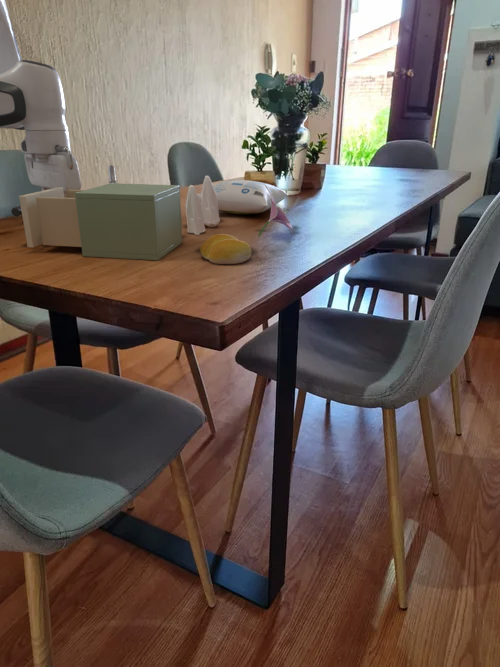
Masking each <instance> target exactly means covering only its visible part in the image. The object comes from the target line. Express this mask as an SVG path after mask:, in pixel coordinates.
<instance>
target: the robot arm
mask: <svg viewBox="0 0 500 667" xmlns="http://www.w3.org/2000/svg"><path fill="white" fill-rule="evenodd" d="M8 10H9V9H8V5H7V2H6V0H0V129H6V130H7V129H12V130H18V131H24V133H25V136H24V138H23V140H22V141H20V143H19V144H20V150H21V152H22V153H24V163H25V167H26V168H25V169H26V173H27V176H28V180H29V182H30V184H31V185H32V186H36V187H40V189H41V190H40V191H43V190H48V189H52V188H57V187H63V191H64V198H67V194H66V190H82V180H81V175H80V169H79V165H78V161H77V159H76V156H75V155H73V152H72V148H71V141H70V140H71V139H70V133H69V132H70V131H69V127H68V124H67V122H66V111H67V110H66V101H65V100H66V99H65V94H64V90H63V85H62V80H61V77H60V74H59V73H58V71H57V70H56V69H55V68H54V67H53V66H52V65H49V64H46V63H42V62H39V61H33V60H28V59H22V56H21V53H20V49H19V45H18V42H17V39H16V35H15V32H14V28H13V25H12V22H11V18H10V14H9V11H8Z"/></svg>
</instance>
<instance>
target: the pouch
mask: <svg viewBox="0 0 500 667" xmlns="http://www.w3.org/2000/svg"><path fill="white" fill-rule="evenodd" d="M264 184H265V185H264ZM213 187H214V190H215V192H216V195H217V200H218V211H219V212H221V213H226V214H235V215H256V214H261V213H264V212H266V211H267V210H269V209H271V204H272V203H271V199H272V196H273V198H274V201H275V204H276V205H277V204H279V203H280V202H283V200H285V199H286V198H287V197H288V196H289V194H288V193H287V192H285V191H284V190H283V189H281V188H280V187H277V186H275V185H272V184H270V183H265V182H261V181H254V180H247V179H231V180H226V181H223V182H220V183H216V184H213ZM266 187H267V188H268V189H267V188H266ZM268 190H269V191H270V193H271V194H270V193H269V191H268ZM197 195H198V197H199V199H200V202H201V191H200V192H199V193H197ZM268 195H269V196H270V198H271V199H270V198H269V196H268ZM271 195H272V196H271ZM272 201H273V199H272Z"/></svg>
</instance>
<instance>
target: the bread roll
mask: <svg viewBox="0 0 500 667" xmlns="http://www.w3.org/2000/svg"><path fill="white" fill-rule="evenodd" d="M199 251H200V254H201V256H202V257H203V258H204V259H205V260H208V261H209V262H211V263H213V264H216V265H238V264H241V263H244V262H246V261H248V260H249V259H250V258H251V257H252V248H251V246H250V244H249V243H248V242H246V241H244V240H241V239H238V238H236V237H235V236H233V235H230V234H226V233H218V234H216V233H215V234H213V235H211V236H209V237H208V238H207V239H206V240H205V241H203V243H202V244H201V245H200V248H199Z"/></svg>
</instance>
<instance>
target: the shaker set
mask: <svg viewBox="0 0 500 667" xmlns="http://www.w3.org/2000/svg"><path fill="white" fill-rule="evenodd" d="M203 178H204V179H203V182H202V187H201V191H200V192H201V202H200V199H199V197H198V193H197V189H196V187H195V186H194V185H193V184H190V185H189V186H188V190H187V194H186V199H185V206H184V207H185V216H186V226H187V227H186V228H187V230H186V232H187V233H189V234H194V235H195V236H199V235H200V234H202V233H205V232H206V226H207V227H209V228H215V227H216V226H217V225H219V223H220V221H221V218H220V211H218V200H217V195H216V192H215V190H214V187H213V186H214V184H213V181H212V180H211V177H210V175H205V176H204V177H203Z"/></svg>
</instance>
